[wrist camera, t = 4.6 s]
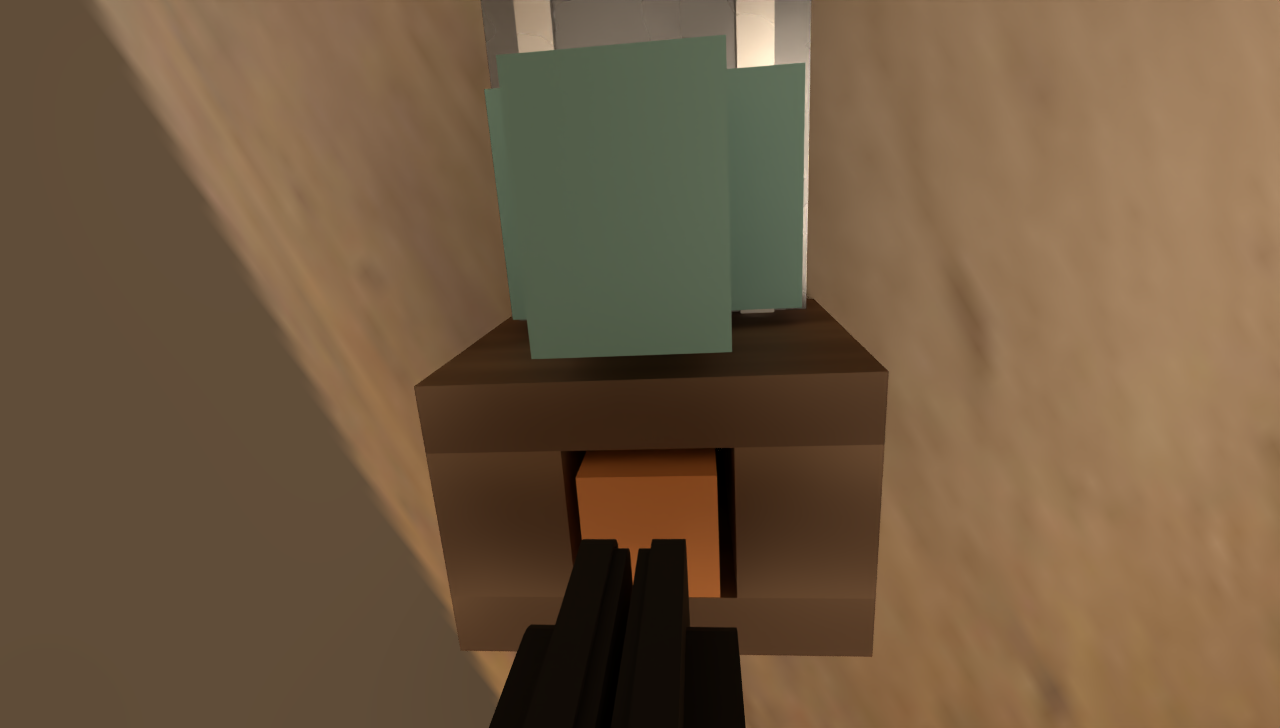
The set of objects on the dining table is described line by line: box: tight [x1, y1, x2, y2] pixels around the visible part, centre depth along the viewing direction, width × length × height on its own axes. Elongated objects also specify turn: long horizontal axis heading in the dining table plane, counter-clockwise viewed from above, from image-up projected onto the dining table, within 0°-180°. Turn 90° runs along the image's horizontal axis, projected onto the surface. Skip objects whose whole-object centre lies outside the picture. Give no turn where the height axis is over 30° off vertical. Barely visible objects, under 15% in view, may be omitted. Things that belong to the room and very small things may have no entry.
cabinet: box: [414, 299, 889, 657], centre depth 17 cm, size 7×10×8 cm
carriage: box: [484, 35, 805, 359], centre depth 14 cm, size 6×8×8 cm
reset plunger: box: [576, 448, 720, 597], centre depth 17 cm, size 3×3×8 cm
